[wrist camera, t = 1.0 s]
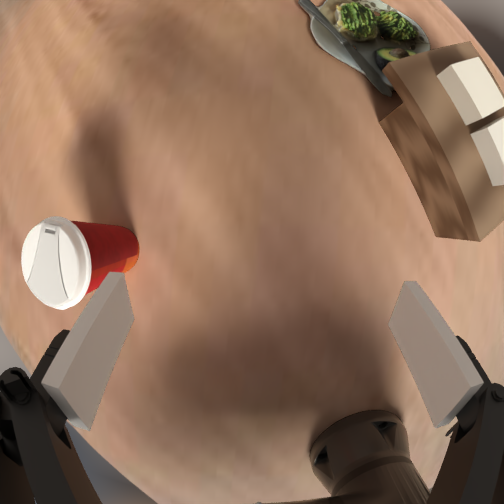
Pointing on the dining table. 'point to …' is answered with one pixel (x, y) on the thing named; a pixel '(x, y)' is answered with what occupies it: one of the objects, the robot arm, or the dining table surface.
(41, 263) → the paper cup
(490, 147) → the tile
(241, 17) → the dining table surface
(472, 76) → the tile
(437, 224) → the block
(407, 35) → the salad plate
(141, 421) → the dining table surface
